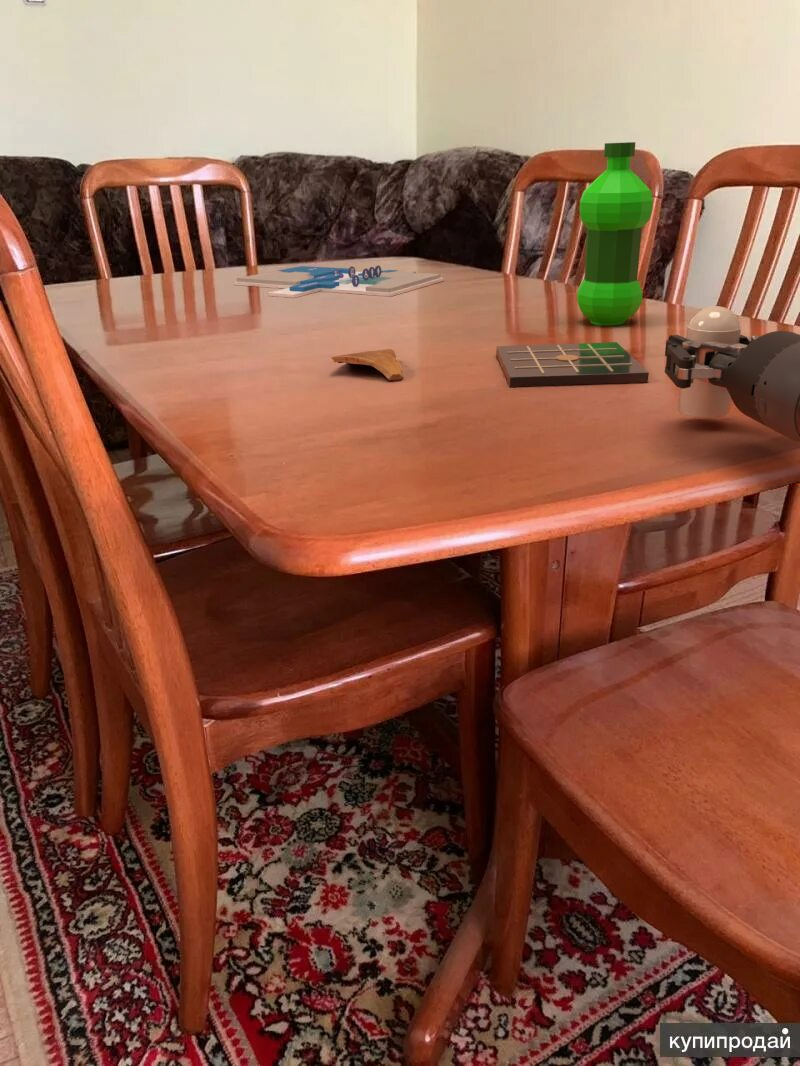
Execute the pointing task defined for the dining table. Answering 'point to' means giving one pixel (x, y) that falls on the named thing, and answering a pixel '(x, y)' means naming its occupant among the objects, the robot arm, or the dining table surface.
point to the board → (569, 364)
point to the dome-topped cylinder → (720, 328)
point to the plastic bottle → (613, 239)
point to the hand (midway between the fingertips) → (697, 343)
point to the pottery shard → (375, 362)
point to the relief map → (339, 281)
